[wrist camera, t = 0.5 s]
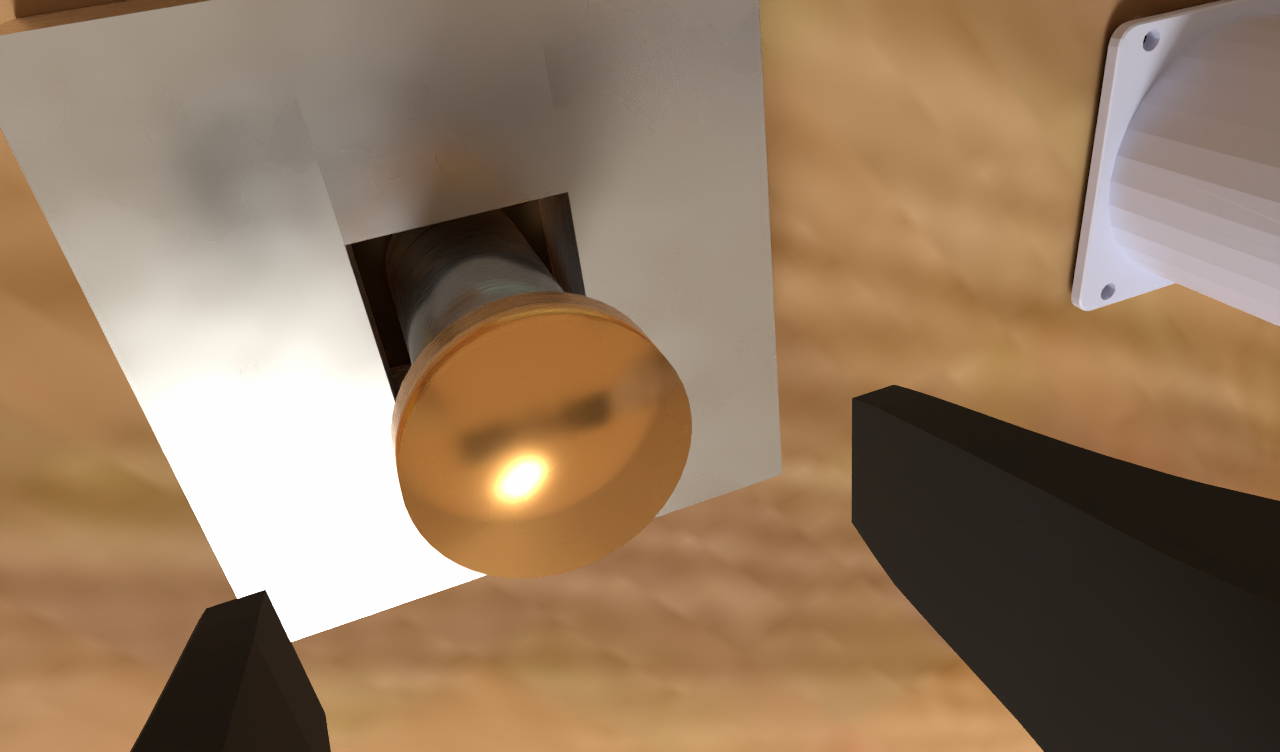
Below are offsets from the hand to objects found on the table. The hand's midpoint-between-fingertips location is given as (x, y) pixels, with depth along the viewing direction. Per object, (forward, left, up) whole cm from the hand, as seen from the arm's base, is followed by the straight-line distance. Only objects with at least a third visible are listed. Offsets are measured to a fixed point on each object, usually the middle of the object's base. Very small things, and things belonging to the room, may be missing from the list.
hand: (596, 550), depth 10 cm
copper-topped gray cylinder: (0, 0, -10) cm, 10 cm away
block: (0, 0, -10) cm, 10 cm away
